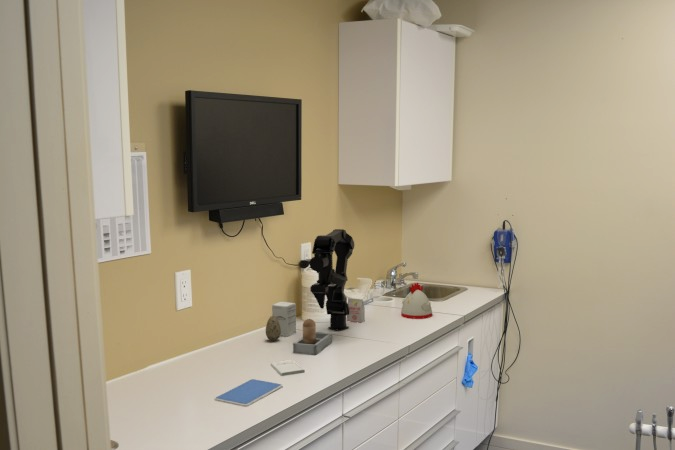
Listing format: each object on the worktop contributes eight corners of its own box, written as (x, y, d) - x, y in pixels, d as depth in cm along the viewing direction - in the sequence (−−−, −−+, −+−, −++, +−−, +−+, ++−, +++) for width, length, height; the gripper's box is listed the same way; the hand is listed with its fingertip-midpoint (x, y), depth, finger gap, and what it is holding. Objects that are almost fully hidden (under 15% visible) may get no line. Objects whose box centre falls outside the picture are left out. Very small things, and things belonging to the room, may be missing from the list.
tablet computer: (246, 409, 190) (246, 404, 190) (212, 401, 196) (212, 397, 196) (284, 388, 207) (283, 384, 207) (251, 382, 213) (251, 378, 213)
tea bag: (350, 319, 291) (350, 297, 290) (364, 321, 288) (364, 298, 288) (347, 321, 288) (346, 299, 287) (361, 323, 285) (360, 300, 284)
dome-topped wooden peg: (314, 346, 248) (313, 317, 247) (317, 350, 243) (316, 320, 242) (301, 347, 247) (301, 318, 246) (304, 351, 242) (304, 320, 241)
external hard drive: (281, 377, 217) (270, 366, 228) (304, 374, 220) (293, 363, 232) (281, 372, 217) (270, 362, 228) (304, 369, 220) (292, 359, 231)
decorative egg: (272, 337, 264) (272, 313, 263) (284, 340, 260) (283, 315, 259) (262, 341, 259) (262, 316, 258) (274, 343, 255) (273, 318, 254)
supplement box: (272, 335, 268) (271, 304, 267) (281, 330, 274) (281, 301, 273) (287, 337, 265) (286, 306, 263) (296, 332, 271) (296, 302, 270)
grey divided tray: (310, 340, 258) (310, 332, 258) (331, 342, 255) (331, 333, 255) (293, 352, 242) (293, 343, 242) (316, 354, 239) (315, 345, 239)
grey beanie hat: (394, 315, 298) (394, 283, 296) (415, 310, 307) (414, 278, 305) (418, 320, 287) (418, 287, 286) (438, 315, 297) (438, 282, 295)
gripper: (336, 271, 248) (337, 312, 249) (352, 264, 265) (352, 302, 267) (309, 270, 252) (310, 310, 253) (326, 263, 269) (327, 300, 271)
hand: (326, 305), depth 261 cm, fingers open, 9 cm apart
